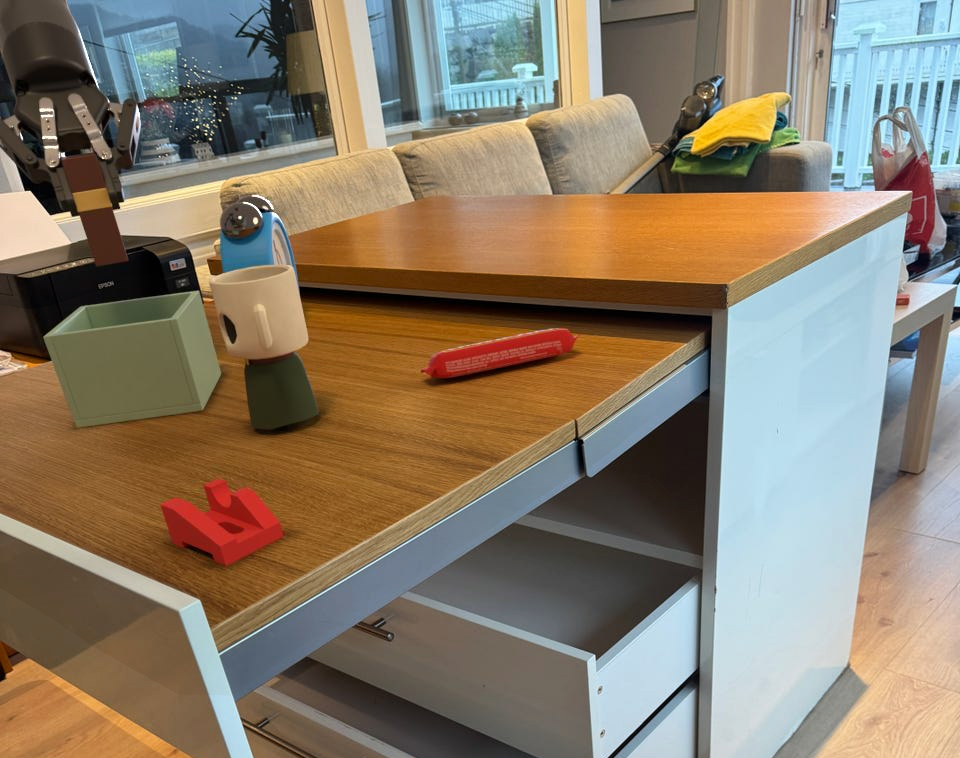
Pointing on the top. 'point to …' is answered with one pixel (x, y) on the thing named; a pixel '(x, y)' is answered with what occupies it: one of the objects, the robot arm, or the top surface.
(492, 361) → the packaged sausage
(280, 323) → the character mug
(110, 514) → the top surface
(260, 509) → the bracket
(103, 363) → the trash bin
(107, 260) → the chocolate carton
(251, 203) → the alarm clock
